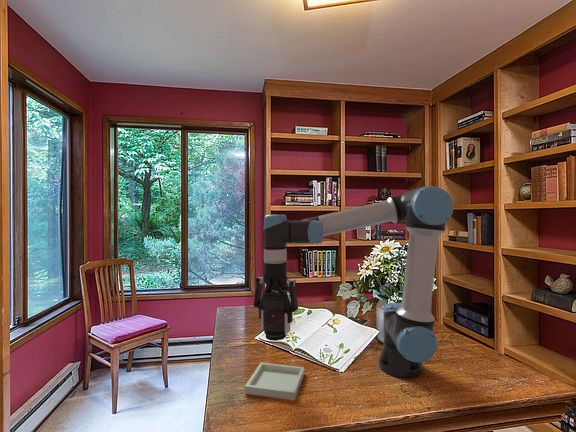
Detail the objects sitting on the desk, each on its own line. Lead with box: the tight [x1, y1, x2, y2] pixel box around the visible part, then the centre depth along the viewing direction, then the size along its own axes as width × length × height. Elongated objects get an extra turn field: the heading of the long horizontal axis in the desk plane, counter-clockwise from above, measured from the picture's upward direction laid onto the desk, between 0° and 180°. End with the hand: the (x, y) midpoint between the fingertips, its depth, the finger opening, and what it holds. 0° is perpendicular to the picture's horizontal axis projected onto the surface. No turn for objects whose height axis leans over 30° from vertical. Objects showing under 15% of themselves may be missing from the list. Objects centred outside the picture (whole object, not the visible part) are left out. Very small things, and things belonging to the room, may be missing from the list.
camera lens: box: [262, 290, 288, 342], centre depth 107 cm, size 8×8×15 cm
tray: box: [244, 362, 305, 401], centre depth 108 cm, size 16×16×2 cm
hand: (275, 330), depth 108 cm, fingers closed on camera lens, 8 cm apart
